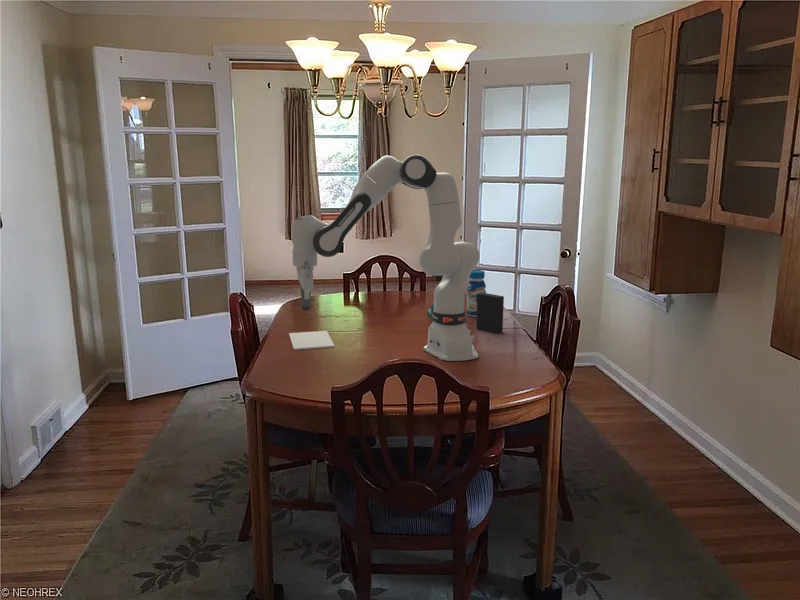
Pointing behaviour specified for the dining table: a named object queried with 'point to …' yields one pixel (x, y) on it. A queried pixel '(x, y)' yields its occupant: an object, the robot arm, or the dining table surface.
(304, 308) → the marker
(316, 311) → the dining table surface
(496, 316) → the upright charcoal panel
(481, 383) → the dining table surface
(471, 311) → the beverage bottle
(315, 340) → the paper
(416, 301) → the dining table surface
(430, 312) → the bracket
